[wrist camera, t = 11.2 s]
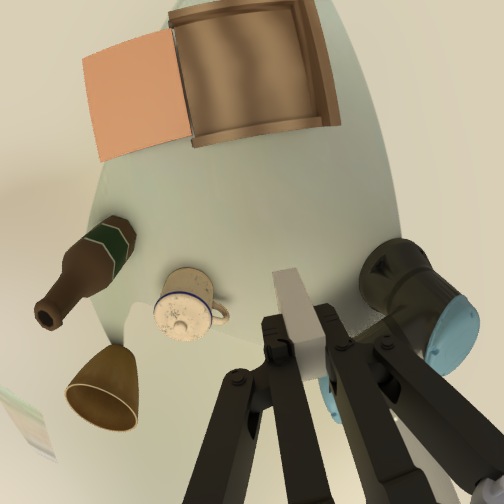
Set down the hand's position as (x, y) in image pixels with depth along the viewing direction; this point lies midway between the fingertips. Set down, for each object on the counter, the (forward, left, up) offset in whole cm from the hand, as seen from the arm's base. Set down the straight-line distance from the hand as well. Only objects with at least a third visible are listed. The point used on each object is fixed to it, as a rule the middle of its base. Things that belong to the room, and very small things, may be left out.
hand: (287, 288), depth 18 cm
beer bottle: (+24, +2, -29) cm, 37 cm away
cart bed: (-2, -18, -28) cm, 34 cm away
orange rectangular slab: (+6, -18, -20) cm, 28 cm away
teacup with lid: (+13, +15, -29) cm, 35 cm away
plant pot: (+35, +28, -29) cm, 53 cm away
